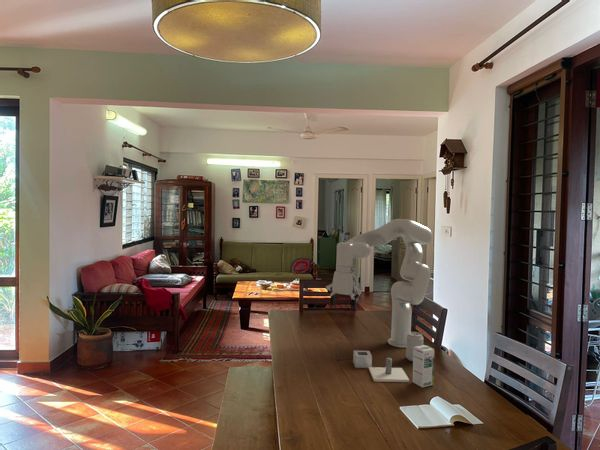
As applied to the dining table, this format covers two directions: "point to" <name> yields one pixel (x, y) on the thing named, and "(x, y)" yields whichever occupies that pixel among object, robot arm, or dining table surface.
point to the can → (413, 343)
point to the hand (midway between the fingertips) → (342, 306)
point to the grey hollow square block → (362, 359)
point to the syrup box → (423, 366)
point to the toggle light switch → (388, 373)
